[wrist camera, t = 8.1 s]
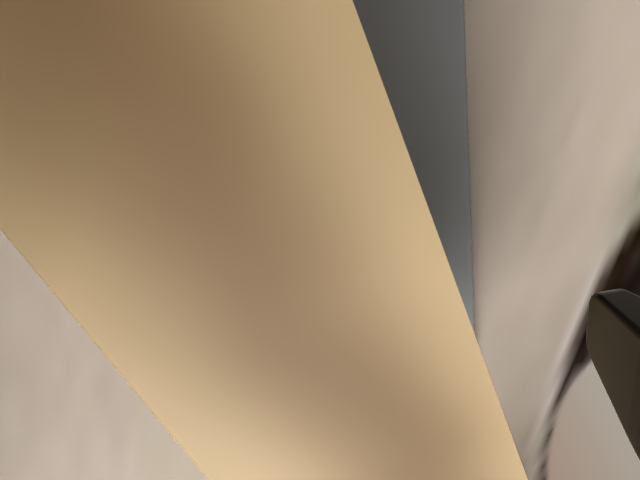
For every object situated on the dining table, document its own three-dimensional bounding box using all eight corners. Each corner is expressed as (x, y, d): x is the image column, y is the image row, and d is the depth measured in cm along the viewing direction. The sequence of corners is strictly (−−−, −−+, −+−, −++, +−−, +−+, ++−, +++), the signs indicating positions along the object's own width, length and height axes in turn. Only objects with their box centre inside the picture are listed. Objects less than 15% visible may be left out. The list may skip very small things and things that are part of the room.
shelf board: (325, 505, 20) (340, 639, 16) (-282, -382, 8) (-647, -555, 5) (505, 443, 19) (560, 570, 15) (101, -622, 8) (-21, -1020, 4)
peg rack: (468, 357, 25) (523, 482, 20) (179, 411, 25) (160, 549, 20) (432, -512, 12) (557, -779, 7) (-146, -404, 12) (-421, -593, 7)
